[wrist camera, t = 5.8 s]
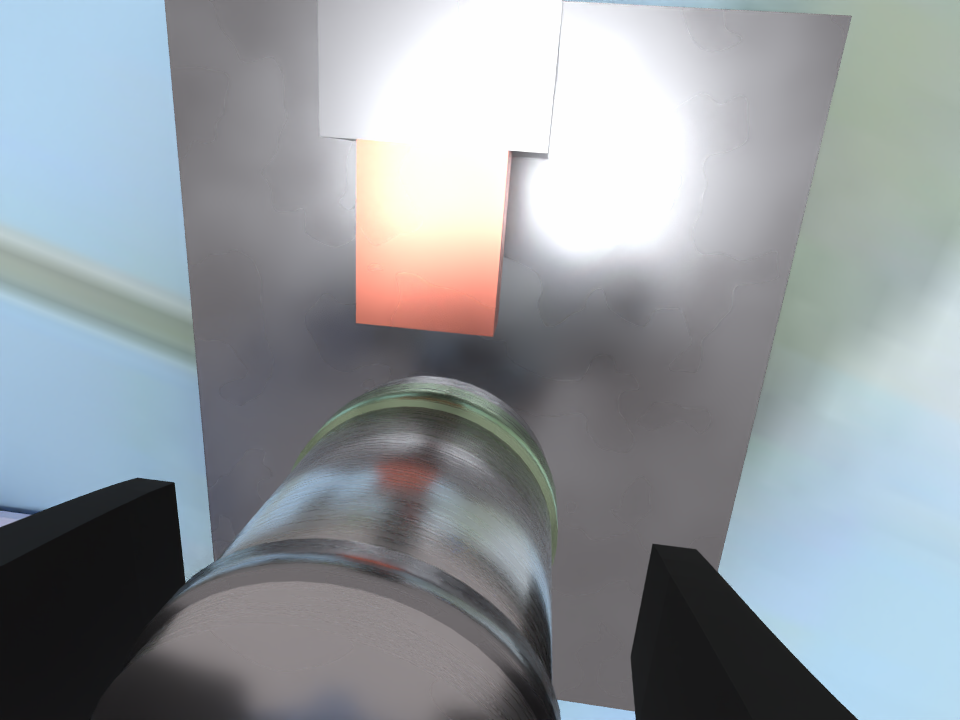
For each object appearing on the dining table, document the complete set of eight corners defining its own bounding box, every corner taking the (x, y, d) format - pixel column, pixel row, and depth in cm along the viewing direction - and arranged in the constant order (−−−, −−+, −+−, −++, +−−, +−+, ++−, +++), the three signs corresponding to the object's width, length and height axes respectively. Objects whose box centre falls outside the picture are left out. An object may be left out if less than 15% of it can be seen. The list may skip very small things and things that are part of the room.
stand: (245, 613, 20) (90, 841, 13) (202, -1, 14) (-115, -154, 7) (671, 676, 18) (740, 961, 12) (817, 32, 13) (1111, -116, 6)
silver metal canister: (318, 570, 12) (108, 933, 6) (313, 357, 10) (36, 580, 5) (543, 602, 12) (536, 1017, 6) (570, 385, 10) (598, 662, 4)
